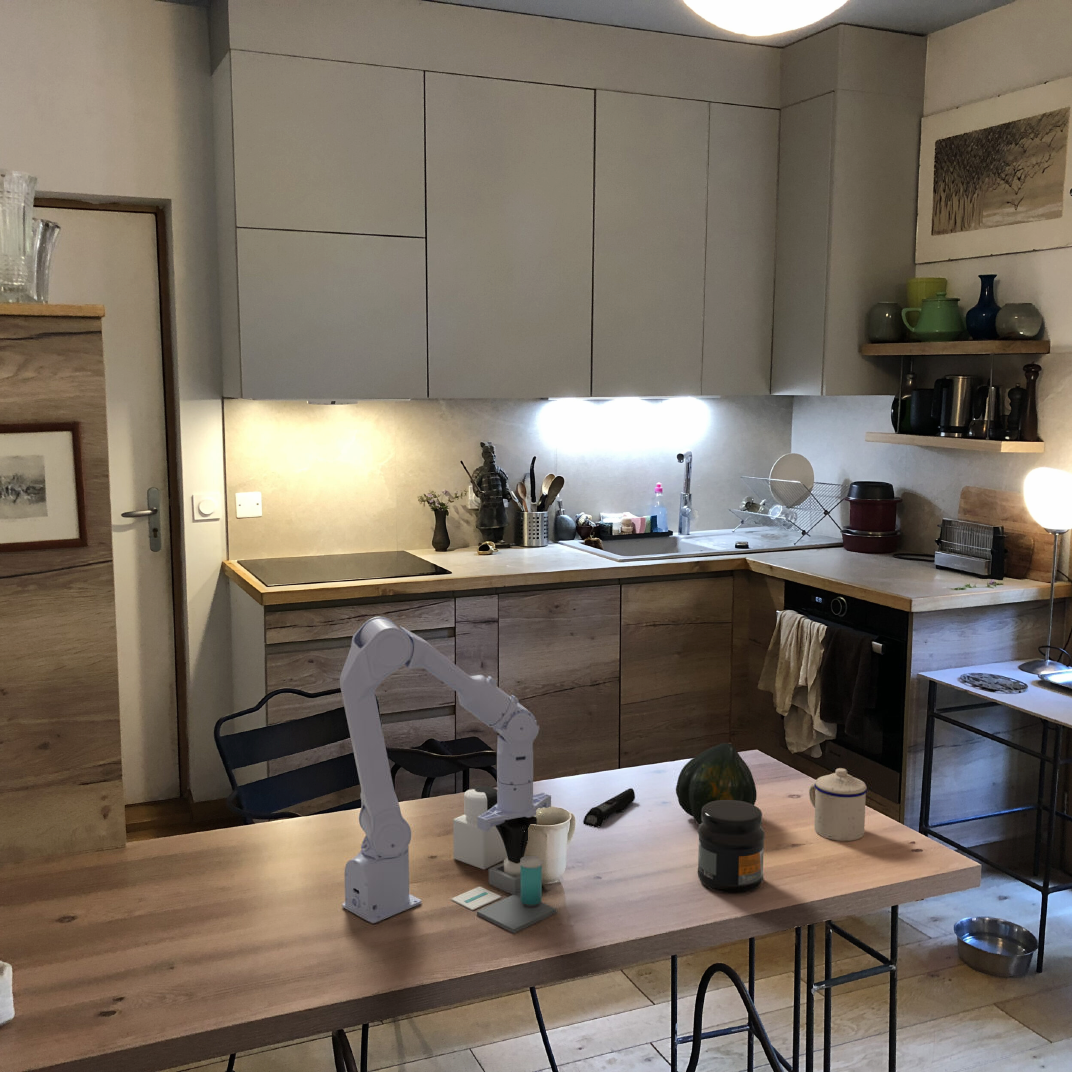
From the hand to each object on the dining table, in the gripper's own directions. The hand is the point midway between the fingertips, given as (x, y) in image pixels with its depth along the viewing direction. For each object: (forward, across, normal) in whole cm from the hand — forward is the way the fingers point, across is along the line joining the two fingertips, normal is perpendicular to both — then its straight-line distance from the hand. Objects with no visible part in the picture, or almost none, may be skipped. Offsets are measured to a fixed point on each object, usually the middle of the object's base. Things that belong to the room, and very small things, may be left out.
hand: (515, 860), depth 172 cm
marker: (+3, -4, -8) cm, 9 cm away
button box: (+4, 0, 0) cm, 4 cm away
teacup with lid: (+4, +56, -25) cm, 61 cm away
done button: (+3, 0, 0) cm, 3 cm away
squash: (+4, +45, -7) cm, 46 cm away
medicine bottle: (+4, +3, +11) cm, 12 cm away
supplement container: (+4, +25, -24) cm, 35 cm away
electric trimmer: (+4, +33, +9) cm, 35 cm away
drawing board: (+4, -7, -8) cm, 11 cm away
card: (+4, -8, 0) cm, 9 cm away
